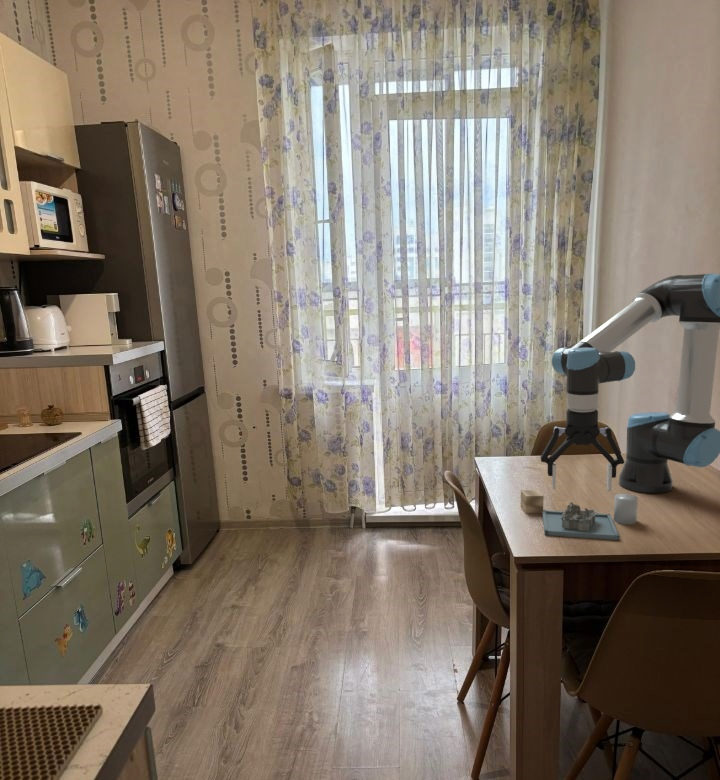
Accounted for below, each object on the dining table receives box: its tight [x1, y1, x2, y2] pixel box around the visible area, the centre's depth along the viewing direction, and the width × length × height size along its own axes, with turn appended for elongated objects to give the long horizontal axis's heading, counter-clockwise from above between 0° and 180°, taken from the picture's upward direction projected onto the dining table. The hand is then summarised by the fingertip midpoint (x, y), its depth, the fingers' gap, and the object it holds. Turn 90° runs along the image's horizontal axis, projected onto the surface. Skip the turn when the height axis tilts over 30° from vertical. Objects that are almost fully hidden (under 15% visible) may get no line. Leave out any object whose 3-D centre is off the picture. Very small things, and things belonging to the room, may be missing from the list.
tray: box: [541, 509, 620, 541], centre depth 158 cm, size 18×15×1 cm
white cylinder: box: [613, 493, 639, 526], centre depth 161 cm, size 6×6×6 cm
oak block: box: [520, 489, 545, 514], centre depth 170 cm, size 5×5×5 cm
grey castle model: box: [561, 501, 598, 531], centre depth 158 cm, size 11×8×4 cm
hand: (581, 488), depth 156 cm, fingers open, 13 cm apart
